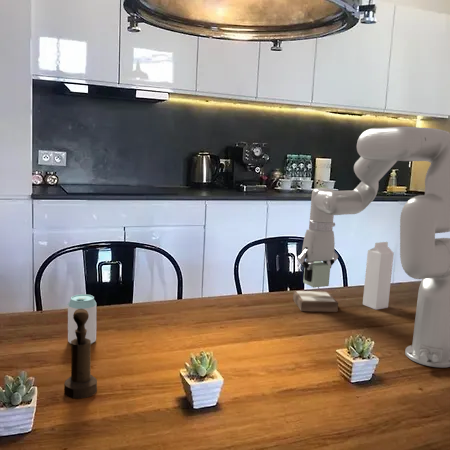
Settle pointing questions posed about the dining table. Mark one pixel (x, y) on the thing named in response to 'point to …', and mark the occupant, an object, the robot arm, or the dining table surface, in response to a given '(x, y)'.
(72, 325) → the can
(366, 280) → the milk
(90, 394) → the dark brown tall piece
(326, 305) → the plinth
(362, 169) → the robot arm
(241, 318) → the dining table surface
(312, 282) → the block
